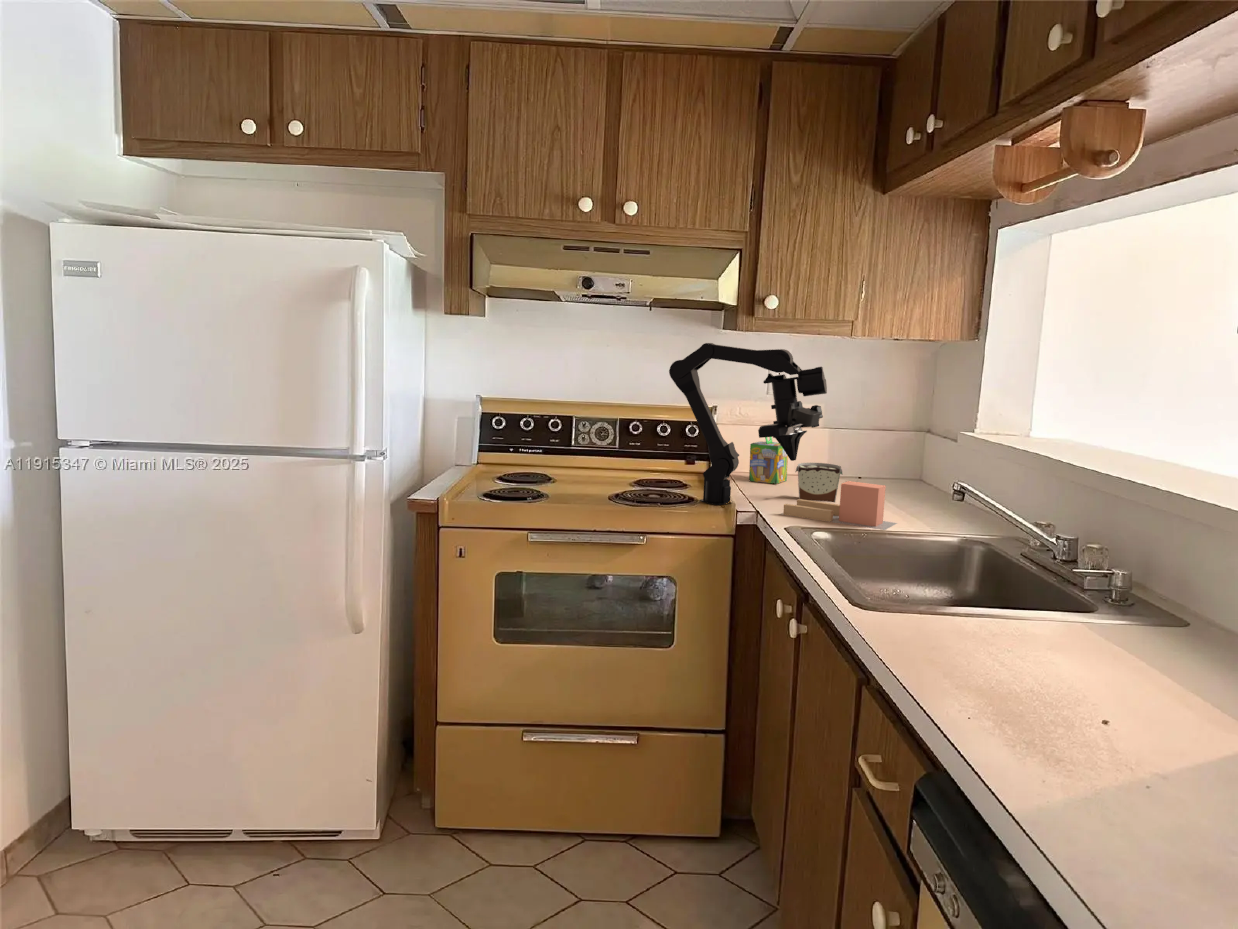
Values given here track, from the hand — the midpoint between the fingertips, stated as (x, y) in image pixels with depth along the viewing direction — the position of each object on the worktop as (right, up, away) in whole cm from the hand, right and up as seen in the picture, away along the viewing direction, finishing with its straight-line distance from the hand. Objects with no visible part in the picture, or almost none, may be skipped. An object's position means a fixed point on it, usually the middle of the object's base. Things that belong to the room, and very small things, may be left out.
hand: (793, 460), depth 227 cm
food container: (+9, -11, +15) cm, 21 cm away
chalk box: (+1, -6, +45) cm, 45 cm away
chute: (+9, -15, -10) cm, 20 cm away
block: (+13, -15, -13) cm, 24 cm away
